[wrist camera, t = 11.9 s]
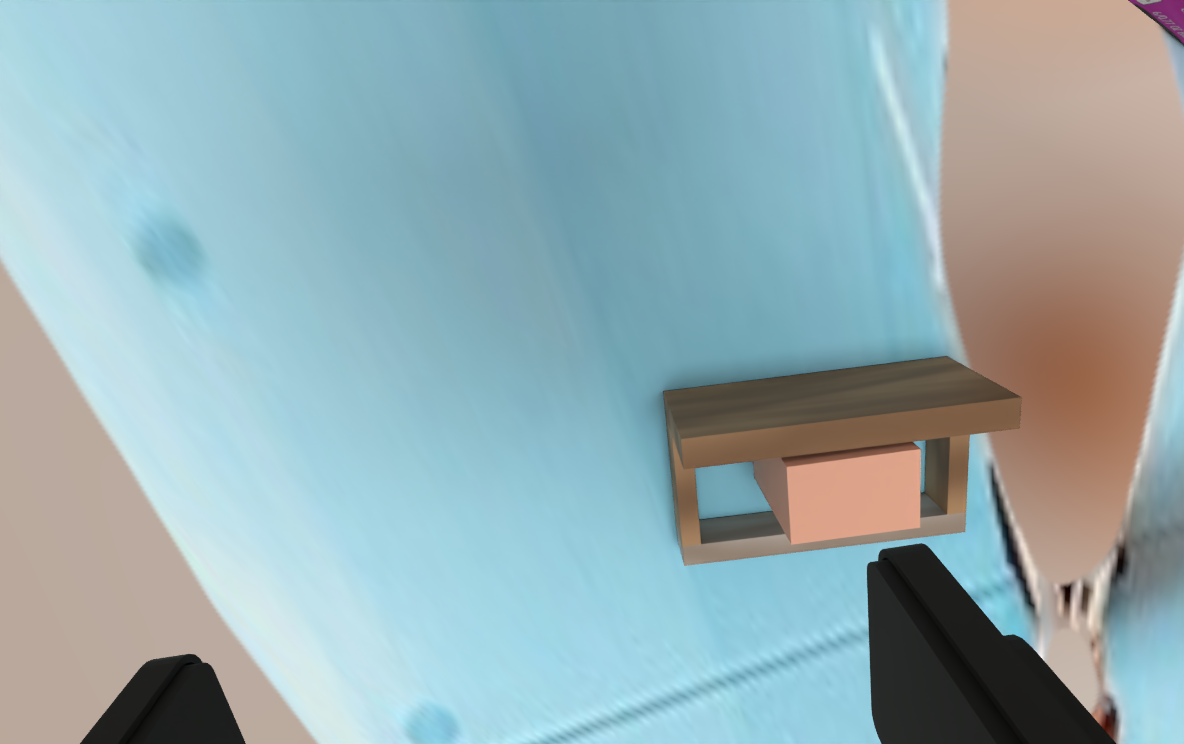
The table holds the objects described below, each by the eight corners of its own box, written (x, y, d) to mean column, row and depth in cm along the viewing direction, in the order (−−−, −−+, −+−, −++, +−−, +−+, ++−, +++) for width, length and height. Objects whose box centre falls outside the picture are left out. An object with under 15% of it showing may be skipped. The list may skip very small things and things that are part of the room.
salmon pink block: (749, 411, 38) (786, 467, 31) (859, 396, 38) (920, 448, 31) (755, 490, 39) (792, 559, 33) (861, 475, 39) (919, 542, 32)
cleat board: (663, 391, 37) (681, 439, 31) (947, 356, 37) (1021, 397, 31) (677, 541, 40) (696, 612, 34) (941, 509, 40) (1009, 575, 34)
